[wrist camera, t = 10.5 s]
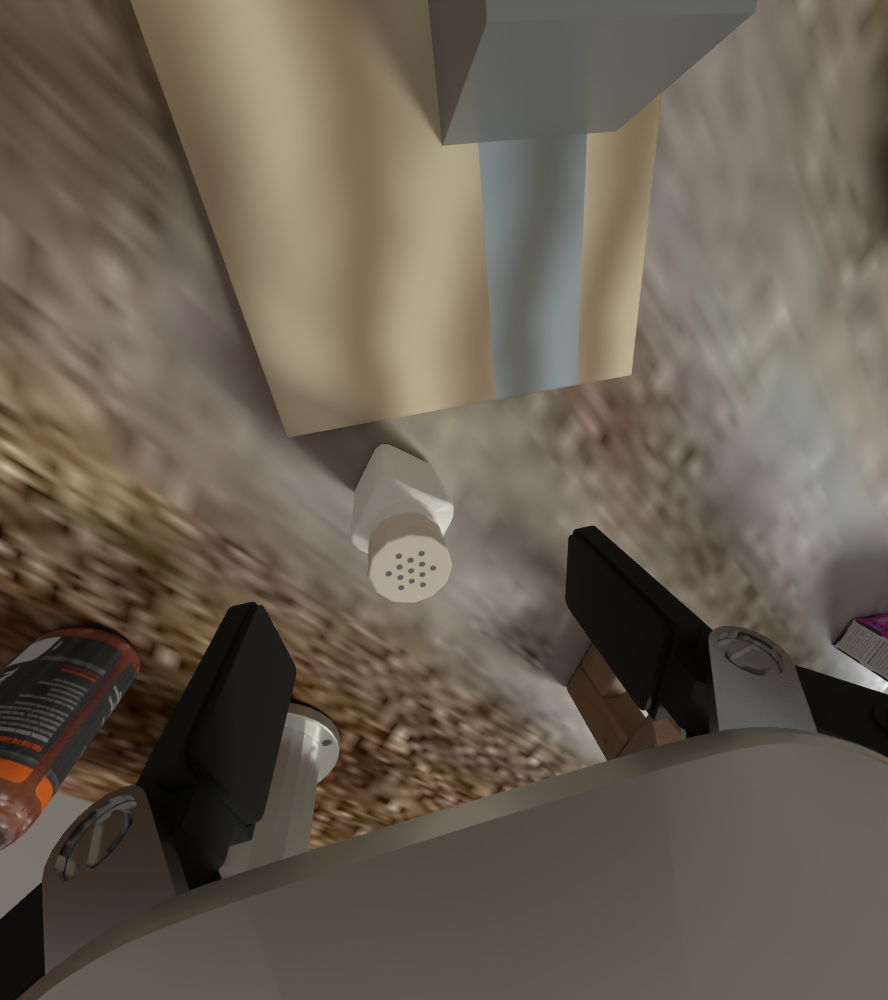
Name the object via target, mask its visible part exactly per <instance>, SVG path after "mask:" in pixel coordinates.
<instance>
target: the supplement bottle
mask: <svg viewBox="0 0 888 1000" xmlns="http://www.w3.org/2000/svg"><path fill="white" fill-rule="evenodd" d="M139 670H140V657H139V655H138V653H137V652H136V650H135V649H134V647H132V645H130V644H129V643H128V642H127V641H126V640H124V639H122V638H121V637H119V636H117V635H114V634H112V633H109V632H106V631H102V630H98V629H92V628H82V627H80V628H65V629H60V630H55V631H52V632H50V633H47V634H44V635H43V636H41V637H39V638H38V639H36V640H35V641H34V642H32V643H31V644H30V645H29V646H28V647H26V648H25V649H24V650H23V651H21V652H20V653H19V654H18V655H17V656H16V657H15V658H13V659H12V660H11V661H10V662H9V663H8V664H7V665H6V666H5V667H4V668H3V669H1V670H0V850H2V849H4V848H5V847H7V846H9V845H10V844H12V843H13V842H15V841H16V840H18V839H19V838H20V837H21V836H22V835H23V834H24V833H25V832H26V831H27V830H28V829H29V828H30V827H31V826H32V824H33V823H34V822H35V820H36V819H37V818H38V817H39V816H40V814H41V813H42V811H43V810H44V809H45V807H46V806H47V804H48V803H49V801H50V800H51V798H52V797H53V796H54V795H55V793H56V792H57V790H58V789H59V787H60V786H61V785H62V783H63V782H64V780H65V779H66V777H67V776H68V775H69V773H70V772H71V770H72V769H73V767H74V766H75V764H76V763H77V762H78V760H79V759H80V757H81V756H82V755H83V753H84V752H85V750H86V749H87V748H88V746H89V745H90V743H91V742H92V740H93V739H94V737H95V736H96V735H97V733H98V732H99V730H100V729H101V727H102V726H103V724H104V723H105V721H106V720H107V719H108V717H109V716H110V714H111V713H112V712H113V710H114V709H115V707H116V706H117V704H118V703H119V701H120V700H121V699H122V697H123V696H124V694H125V693H126V691H127V690H128V689H129V687H130V686H131V684H132V682H133V681H134V679H135V678H136V676H137V674H138V672H139Z"/></svg>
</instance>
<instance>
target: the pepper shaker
mask: <svg viewBox="0 0 888 1000" xmlns="http://www.w3.org/2000/svg"><path fill="white" fill-rule="evenodd" d="M453 508H454V505H453V503H452V501H451V499H450V497H449V496H448V494H447V492H446V490H445V488H444V486H443V484H442V482H441V480H440V478H439V476H438V474H437V472H436V470H435V469H434V467H433V466H432V465H431V464H429V463H427V462H425V461H423V460H421V459H419V458H417V457H414V456H412V455H410V454H408V453H406V452H404V451H402V450H400V449H398V448H396V447H393V446H391V445H389V444H380V445H379V446H378V447H377V448H376V449H375V450H374V452H373V454H372V456H371V458H370V460H369V463H368V465H367V467H366V469H365V471H364V473H363V475H362V477H361V479H360V481H359V483H358V485H357V487H356V489H355V498H354V508H353V517H352V526H351V542H352V543H353V544H354V545H355V546H356V547H357V548H358V549H359V550H361V551H363V552H366V553H368V577H369V579H370V581H371V583H372V585H373V587H374V589H375V591H376V592H377V593H379V594H381V595H382V596H384V597H386V598H388V599H389V600H391V601H393V602H409V603H414V602H417V601H419V600H422V599H425V598H428V597H431V596H433V595H434V594H435V593H436V592H437V591H438V590H439V589H440V588H441V587H442V586H443V585H444V584H445V583H447V580H448V577H449V574H450V570H451V567H452V562H451V559H450V556H449V553H448V550H447V547H446V544H445V541H444V539H443V535H444V533H445V532H446V530H447V528H448V526H449V524H450V522H451V520H452V518H453Z"/></svg>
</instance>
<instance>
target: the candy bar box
mask: <svg viewBox="0 0 888 1000" xmlns="http://www.w3.org/2000/svg"><path fill="white" fill-rule="evenodd" d="M834 647H835V648H837V649H838V650H840V651H841V652H843V653H844V654H846V655H847V656H849V657H850V658H852V659H853V660H855V661H857V662H858V663H860V664H861V665H863V666H864V667H866V668H867V669H869V670H870V671H872V672H873V673H875V674H877V675H878V676H880V677H881V678H883V679H884V680H886V681H887V682H888V614H883V615H877V616H870V617H864V618H858V619H853V620H852V621H851V622H850V623H849V624H848V625H847V627H846V628H845V630H844V631H843V633H842V634H841V636H840V637H839V639H838V640H837V642H836V643H835V645H834Z"/></svg>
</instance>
